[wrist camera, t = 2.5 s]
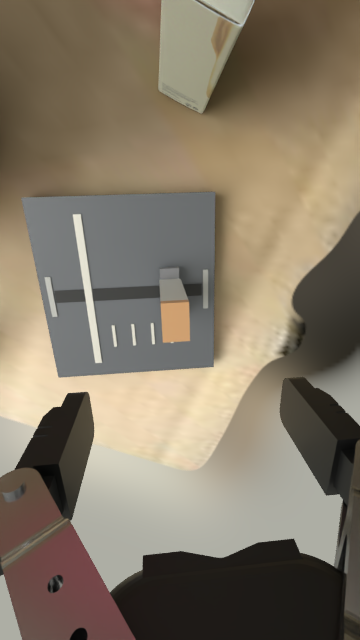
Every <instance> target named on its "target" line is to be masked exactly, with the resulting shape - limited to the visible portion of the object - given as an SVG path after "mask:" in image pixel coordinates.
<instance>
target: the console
mask: <svg viewBox="0 0 360 640" xmlns="http://www.w3.org/2000/svg"><path fill="white" fill-rule="evenodd" d="M21 199H22V203H23V208H24V213H25V218H26V223H27V227H28V232H29V237H30V242H31V247H32V252H33V256H34V261H35V266H36V271H37V276H38V280H39V285H40V290H41V295H42V300H43V305H44V309H45V314H46V319H47V324H48V329H49V334H50V338H51V343H52V348H53V353H54V358H55V362H56V367H57V372H58V377H72V376H87V375H102V374H116V373H131V372H145V371H160V370H175V369H189V368H204V367H214V268H215V192H193V193H160V194H127V195H94V196H61V197H28V198H21ZM160 267H179V279H181V281H182V284H183V287H184V290H185V292H186V295H187V298H188V300H189V318H190V341H182V342H166V343H163V337H162V319H161V302H160V284H159V280H160Z"/></svg>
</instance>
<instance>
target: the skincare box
mask: <svg viewBox="0 0 360 640" xmlns="http://www.w3.org/2000/svg"><path fill="white" fill-rule="evenodd" d="M254 1H255V0H162V5H161V32H160V61H159V87H158V89H159V91H160V92H162V93H164V94H165V95H167V96H169V97H170V98H172V99H174V100H176V101H177V102H179V103H181V104H183V105H185V106H187V107H189V108H191V109H193V110H195V111H197V112H199V113H203V112H204V110H205V108H206V106H207V104H208V101H209V99H210V97H211V95H212V92H213V90H214V88H215V86H216V84H217V82H218V79H219V77H220V75H221V73H222V71H223V68H224V66H225V64H226V62H227V60H228V58H229V55H230V53H231V51H232V49H233V47H234V45H235V43H236V40H237V38H238V36H239V34H240V32H241V30H242V28H243V26H244V24H245V22H246V20H247V18H248V15H249V13H250V11H251V9H252V6H253V4H254Z"/></svg>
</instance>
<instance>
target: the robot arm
mask: <svg viewBox="0 0 360 640" xmlns="http://www.w3.org/2000/svg"><path fill="white" fill-rule="evenodd" d="M280 417H281V420H282V423H283V425H284V427H285V428H286V430H287V432H288V433H289V435H290V437H291V438H292V440H293V442H294V443H295V445H296V447H297V448H298V450H299V452H300V453H301V455H302V457H303V458H304V460H305V461H306V463H307V465H308V466H309V468H310V470H311V471H312V473H313V475H314V476H315V478H316V479H317V481H318V483H319V484H320V486H321V488H322V489H323V491H324V493H325V494H326V495H336V494H340V496H341V497H342V499H343V503H342V507H341V514H340V522H339V531H338V539H337V548H336V555H335V562H334V566H332V565H330V564H328V563H327V562H325V561H323V560H321V559H318V558H316V557H313V556H310V555H307V554H303V553H300V552H299V549H298V547H297V545H296V543H295V540H294V539H287V540H278V541H269V542H260V543H256V544H254V545H252V546H250V547H247V548H245V549H243V550H240V551H238V552H236V553H234V554H231V555H229V556H227V557H224V558H216V557H210V556H205V555H199V554H193V553H188V552H182V551H180V552H170V553H162V554H153V555H144V556H143V570H142V571H139V572H137V573H135V574H133V575H132V576H130V577H128V578H127V579H125V580H124V581H123V582H121V583H120V584H119V585H117V586H116V587H115V588H114V589H113V590H112V591H111V592H109V591H108V589H107V587H106V585H105V583H104V582H103V580H102V578H101V576H100V574H99V573H98V571H97V569H96V567H95V565H94V564H93V562H92V560H91V558H90V556H89V554H88V553H87V551H86V549H85V547H84V545H83V544H82V542H81V540H80V538H79V536H78V535H77V533H76V531H75V529H74V527H73V525H72V524H71V522H70V520H72V517H73V513H74V509H75V506H76V502H77V498H78V494H79V491H80V487H81V483H82V480H83V476H84V472H85V468H86V465H87V460H88V457H89V453H90V450H91V446H92V442H93V438H94V422H93V415H92V409H91V403H90V397H89V394H88V392H80V393H68V394H67V395H66V398H65V400H64V402H63V404H62V406H61V407H53V408H52V409H51V410H50V411H49V412H48V413H47V414H46V415H45V416H43V418H42V420H41V422H40V424H39V426H38V429H36V431H35V433H34V435H33V438H31V440H30V442H29V444H28V446H27V448H26V450H25V452H24V453H23V455H22V457H21V459H20V461H19V462H18V464H17V466H16V468H15V470H13V471H11V472H9V473H7V474H5V475H3V476H2V477H1V478H0V576H1V575H3V574H4V576H5V580H6V584H7V587H8V590H9V594H10V598H11V601H12V605H13V608H14V612H15V615H16V619H17V622H18V626H19V630H20V633H21V637H22V640H360V426H359V425H358V424H357V423H356V422H355V421H354V419H353V418H352V417H351V416H350V415H349V414H348V413H345V410H344V409H343V408H342V407H341V406H339V405H338V403H337V402H336V401H335V400H334V399H333V398H332V397H331V396H330V395H329V394H327V393H326V392H324V391H322V390H320V389H319V388H314V387H313V386H312V385H311V384H310V383H309V382H308V381H307V380H306V379H305V378H304V377H297V378H285V379H284V380H283V386H282V394H281V403H280Z"/></svg>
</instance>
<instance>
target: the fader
mask: <svg viewBox="0 0 360 640" xmlns="http://www.w3.org/2000/svg"><path fill="white" fill-rule="evenodd" d="M159 284H160V302H161V319H162V337H163V343H166V342H182V341H190V318H189V300H188V298H187V295H186V292H185V290H184V287H183V284H182V281H181V279H179V267H160V280H159Z"/></svg>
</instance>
